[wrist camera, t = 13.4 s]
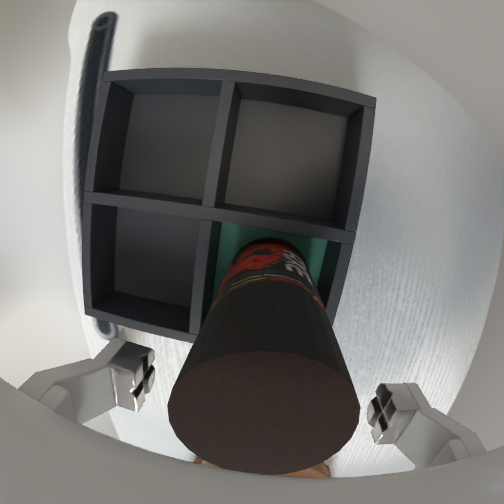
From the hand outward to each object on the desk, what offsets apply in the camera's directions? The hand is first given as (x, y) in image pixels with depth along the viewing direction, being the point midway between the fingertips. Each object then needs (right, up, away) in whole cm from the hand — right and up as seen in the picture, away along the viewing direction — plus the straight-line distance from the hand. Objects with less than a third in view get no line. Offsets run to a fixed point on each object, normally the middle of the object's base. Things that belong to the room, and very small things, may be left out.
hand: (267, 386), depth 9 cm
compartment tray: (-3, +8, +13) cm, 15 cm away
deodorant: (+1, +3, +13) cm, 13 cm away
